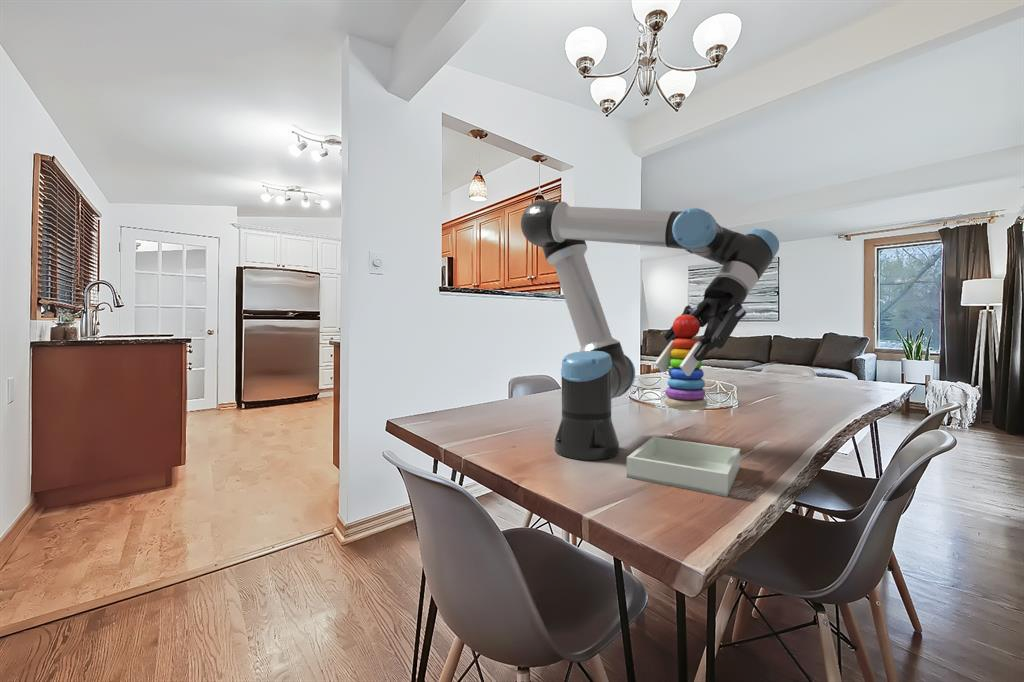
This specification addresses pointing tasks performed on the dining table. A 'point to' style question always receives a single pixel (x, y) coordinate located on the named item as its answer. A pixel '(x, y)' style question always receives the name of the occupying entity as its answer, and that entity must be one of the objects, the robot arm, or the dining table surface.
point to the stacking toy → (682, 387)
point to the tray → (685, 465)
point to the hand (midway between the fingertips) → (671, 369)
